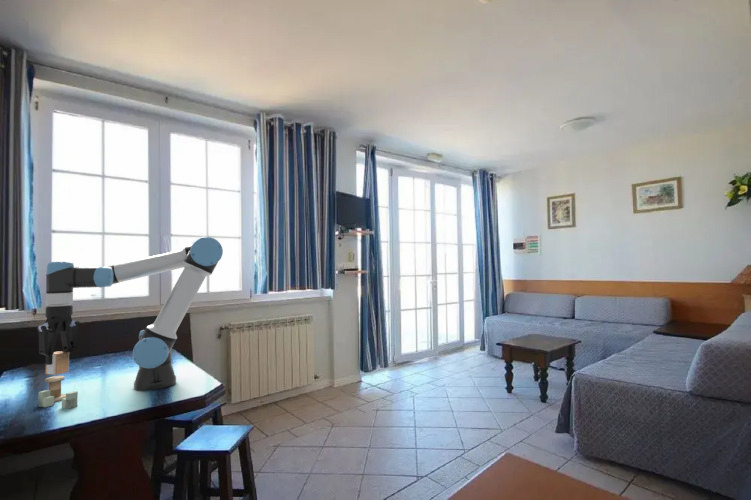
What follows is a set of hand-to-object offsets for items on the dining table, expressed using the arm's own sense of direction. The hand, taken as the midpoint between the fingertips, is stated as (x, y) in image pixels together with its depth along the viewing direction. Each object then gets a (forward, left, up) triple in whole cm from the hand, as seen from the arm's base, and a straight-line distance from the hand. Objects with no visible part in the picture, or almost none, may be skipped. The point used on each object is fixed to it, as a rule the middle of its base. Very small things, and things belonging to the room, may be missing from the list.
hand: (58, 371), depth 138 cm
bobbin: (+9, -6, -12) cm, 16 cm away
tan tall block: (0, 0, 0) cm, 1 cm away
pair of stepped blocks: (0, 0, -12) cm, 12 cm away
